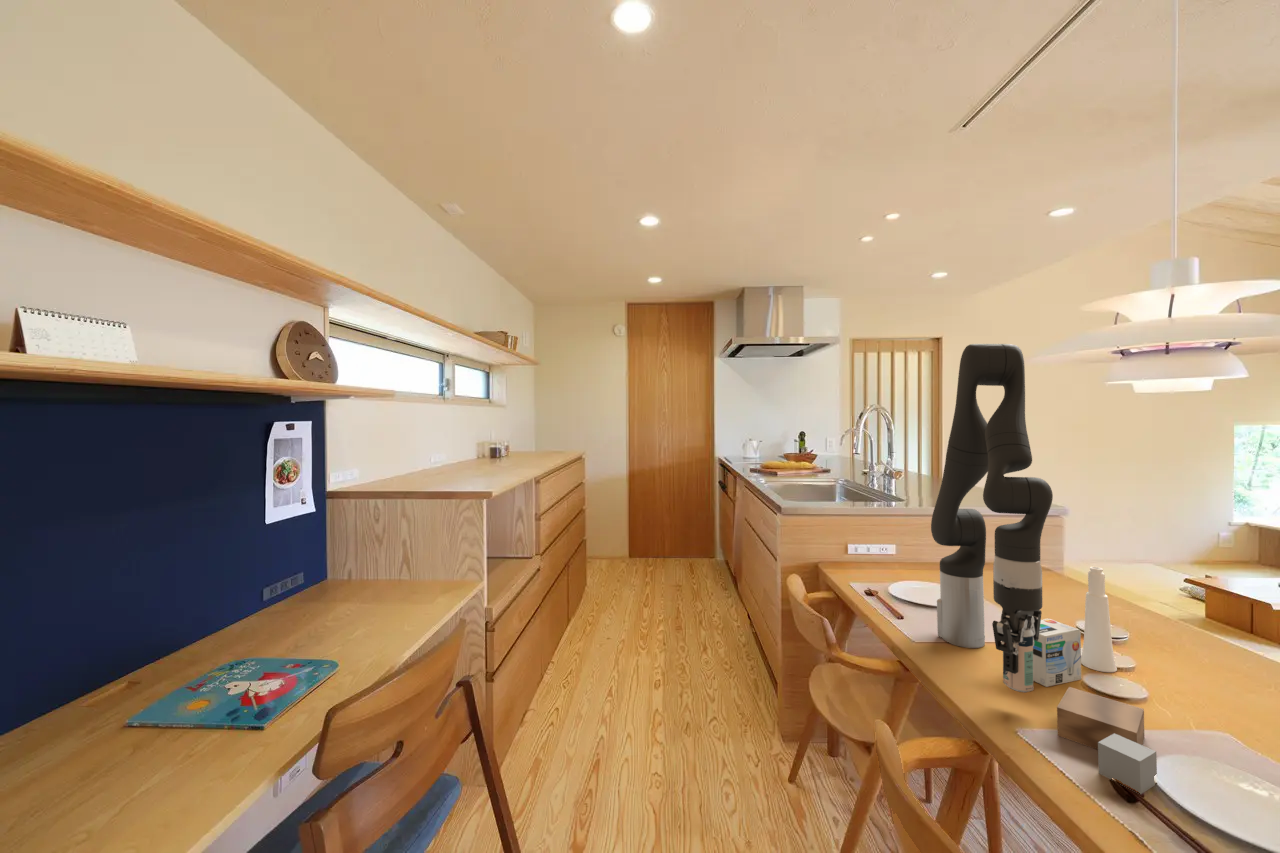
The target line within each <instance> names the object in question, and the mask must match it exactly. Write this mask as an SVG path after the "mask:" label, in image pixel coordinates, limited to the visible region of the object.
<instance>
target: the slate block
mask: <svg viewBox="0 0 1280 853" xmlns="http://www.w3.org/2000/svg"><path fill="white" fill-rule="evenodd" d="M1097 753H1098V754H1097V758H1098V759H1097V760H1098V763H1097V764H1098V774H1099V775H1101V776H1103V777H1105V778H1107V779H1109V780H1111V779H1112V778H1114V779H1117V780H1119V781H1121V782H1122V783H1123V784H1126V785H1128V786H1130V787H1131V788H1133V789H1135V790H1136V791H1138V792H1139V793H1140V794H1139V793H1138V794H1139V795H1142V794H1145V793H1146V791H1148V790H1150V789H1151V788H1153V787H1155V786H1156V785H1155V783H1154V776H1155V775H1156V774H1157V775H1158V767H1157V766H1158V765H1157V760H1158V758H1157V751H1156V750H1154V749H1151V748H1149V747H1147V746H1144V745H1140V744H1138V743H1136V742H1133V741H1131V740H1129V739H1126V738H1124V737H1122V736H1119V735H1117V734H1115V733H1114V734H1112V735H1110V736H1108V737H1107V738H1105V739H1103V740H1101V741H1099V742H1098V750H1097Z"/></svg>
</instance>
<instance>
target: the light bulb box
mask: <svg viewBox="0 0 1280 853" xmlns="http://www.w3.org/2000/svg"><path fill="white" fill-rule="evenodd" d="M1081 632H1082V631H1081V630H1080V629H1079V628H1077V627H1073V626H1071V625H1068V624H1066V623H1063V622H1059V621H1057V620H1055V619H1051V618H1044V619H1041V622H1040V631H1039V639H1038V641H1035V640H1034V646H1033V682H1035V683H1037V684H1040V685H1042V686H1044V687H1046V688H1048V687H1053V686H1056V685H1062V684H1066V683H1071V682H1075V681H1080V680H1082V663H1081V656H1082V642H1081V639H1082V638H1081Z"/></svg>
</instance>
